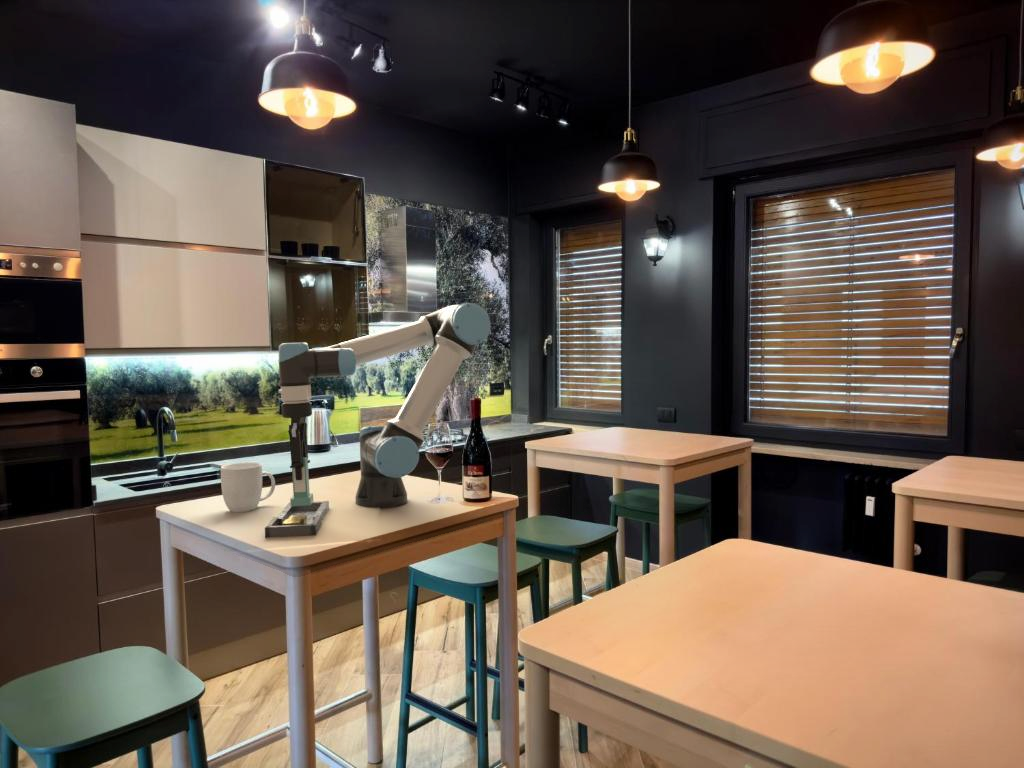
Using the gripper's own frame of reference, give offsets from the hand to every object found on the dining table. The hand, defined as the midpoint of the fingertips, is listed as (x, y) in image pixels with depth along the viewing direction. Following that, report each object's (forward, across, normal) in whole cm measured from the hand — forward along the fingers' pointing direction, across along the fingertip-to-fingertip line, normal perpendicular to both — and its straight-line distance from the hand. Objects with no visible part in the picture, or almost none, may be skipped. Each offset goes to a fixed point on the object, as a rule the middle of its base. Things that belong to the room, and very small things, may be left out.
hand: (301, 489), depth 182 cm
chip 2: (+8, +5, -1) cm, 10 cm away
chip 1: (+8, +9, -1) cm, 12 cm away
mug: (+9, -18, -19) cm, 28 cm away
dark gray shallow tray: (+9, -5, -1) cm, 10 cm away
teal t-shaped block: (+4, 0, 0) cm, 4 cm away
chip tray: (+9, +9, -1) cm, 13 cm away
